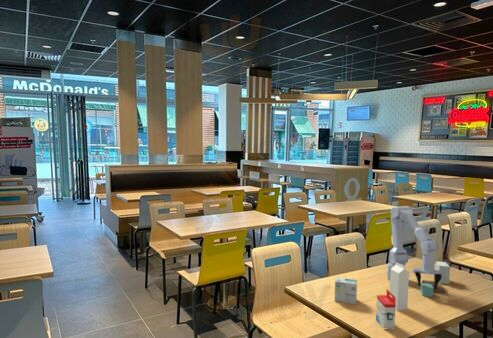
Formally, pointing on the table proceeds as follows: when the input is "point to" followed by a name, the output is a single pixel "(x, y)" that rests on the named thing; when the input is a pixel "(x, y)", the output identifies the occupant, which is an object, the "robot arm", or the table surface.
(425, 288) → the teal block
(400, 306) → the milk
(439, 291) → the walnut slab
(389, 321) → the ink box
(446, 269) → the small box
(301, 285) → the table surface
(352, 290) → the light bulb box
